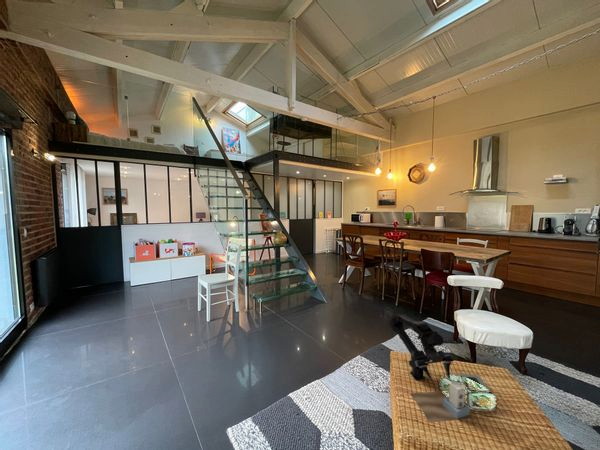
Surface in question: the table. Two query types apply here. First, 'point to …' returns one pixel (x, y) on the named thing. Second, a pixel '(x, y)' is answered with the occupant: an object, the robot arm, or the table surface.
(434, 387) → the table surface
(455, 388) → the tower
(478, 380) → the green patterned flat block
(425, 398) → the walnut board
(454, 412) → the socket cup
